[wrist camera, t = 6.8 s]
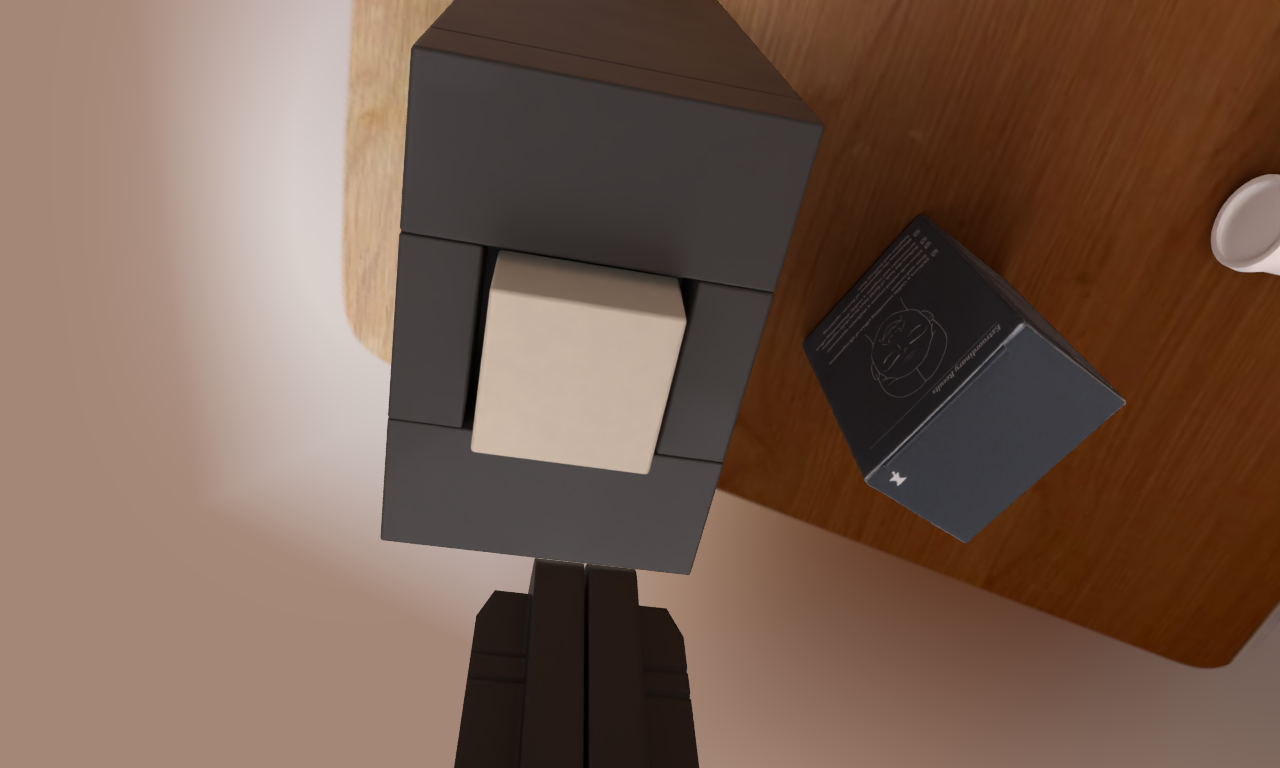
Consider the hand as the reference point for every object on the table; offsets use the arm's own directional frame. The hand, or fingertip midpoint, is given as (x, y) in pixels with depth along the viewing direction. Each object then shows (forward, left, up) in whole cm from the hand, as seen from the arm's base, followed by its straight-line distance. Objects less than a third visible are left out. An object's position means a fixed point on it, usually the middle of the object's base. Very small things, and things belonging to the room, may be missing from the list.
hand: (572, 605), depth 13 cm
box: (+12, +11, -26) cm, 30 cm away
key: (0, 0, -8) cm, 8 cm away
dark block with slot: (0, 0, -26) cm, 26 cm away
